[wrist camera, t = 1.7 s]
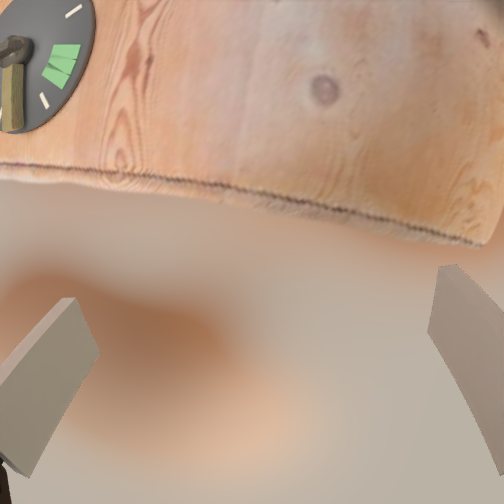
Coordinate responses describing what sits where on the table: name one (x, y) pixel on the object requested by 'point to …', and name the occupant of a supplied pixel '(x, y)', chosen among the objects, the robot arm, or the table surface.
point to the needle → (13, 79)
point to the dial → (49, 53)
